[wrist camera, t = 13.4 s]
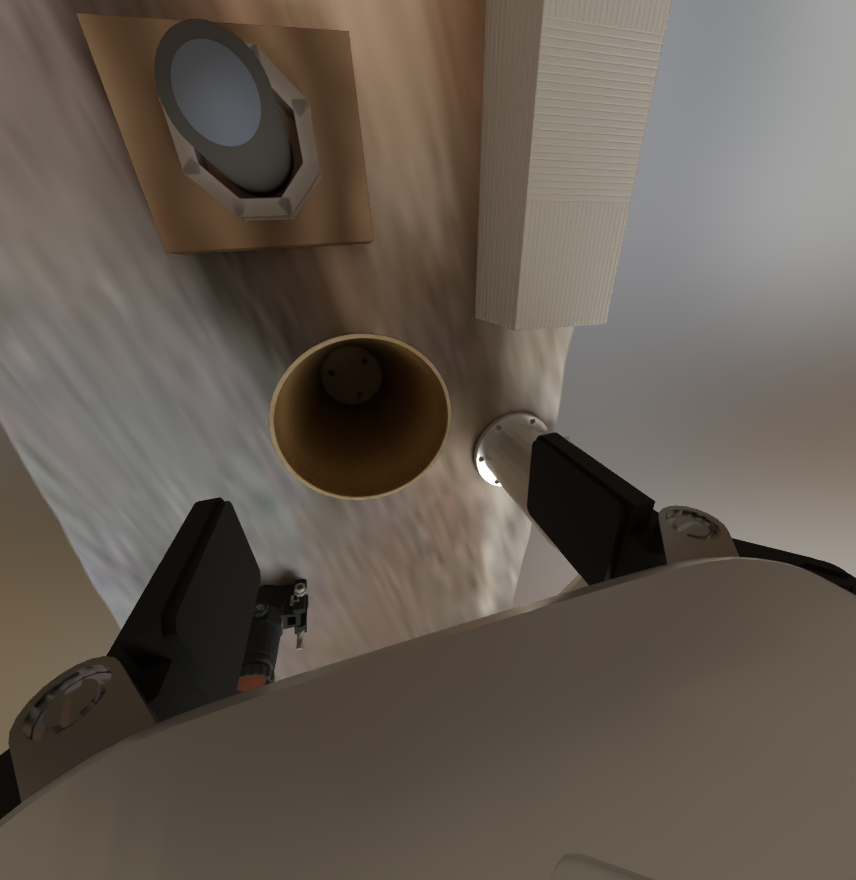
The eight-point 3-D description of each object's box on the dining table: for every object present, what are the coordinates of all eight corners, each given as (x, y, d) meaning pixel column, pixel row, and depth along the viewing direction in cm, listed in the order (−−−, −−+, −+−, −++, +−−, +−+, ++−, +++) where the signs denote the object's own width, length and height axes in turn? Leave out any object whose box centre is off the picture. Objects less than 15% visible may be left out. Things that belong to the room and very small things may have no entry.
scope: (303, 697, 44) (217, 715, 42) (309, 607, 56) (242, 616, 54) (301, 658, 41) (207, 675, 38) (307, 570, 53) (236, 579, 50)
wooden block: (346, 59, 29) (350, 9, 24) (369, 243, 36) (377, 237, 30) (109, 47, 26) (49, -15, 20) (183, 254, 32) (152, 250, 27)
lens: (283, 103, 27) (258, 20, 18) (300, 195, 30) (287, 162, 21) (200, 102, 26) (131, 12, 17) (227, 197, 28) (179, 163, 20)
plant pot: (315, 444, 44) (309, 522, 30) (268, 329, 37) (232, 363, 23) (422, 412, 46) (463, 472, 32) (397, 298, 39) (435, 312, 25)
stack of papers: (548, 313, 45) (606, 323, 36) (474, 317, 43) (515, 330, 33) (596, -61, 31) (714, -207, 21) (488, -85, 28) (567, -261, 19)
